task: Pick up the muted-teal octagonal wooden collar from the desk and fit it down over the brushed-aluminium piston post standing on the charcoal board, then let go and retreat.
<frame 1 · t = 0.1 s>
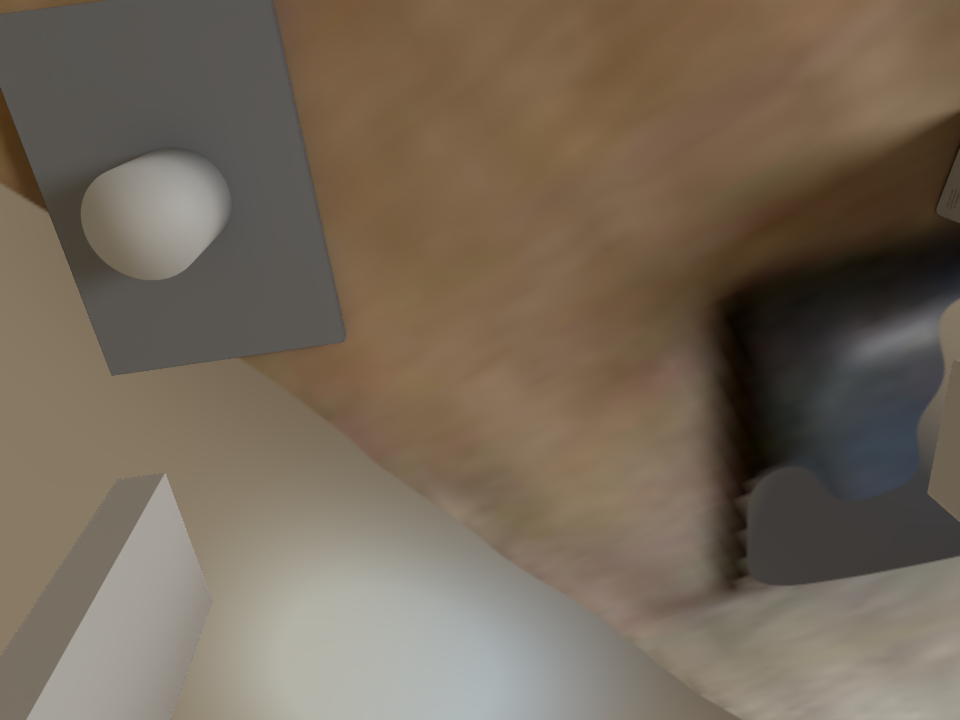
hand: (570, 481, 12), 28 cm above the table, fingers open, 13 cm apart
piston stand: (185, 194, 36), on the table
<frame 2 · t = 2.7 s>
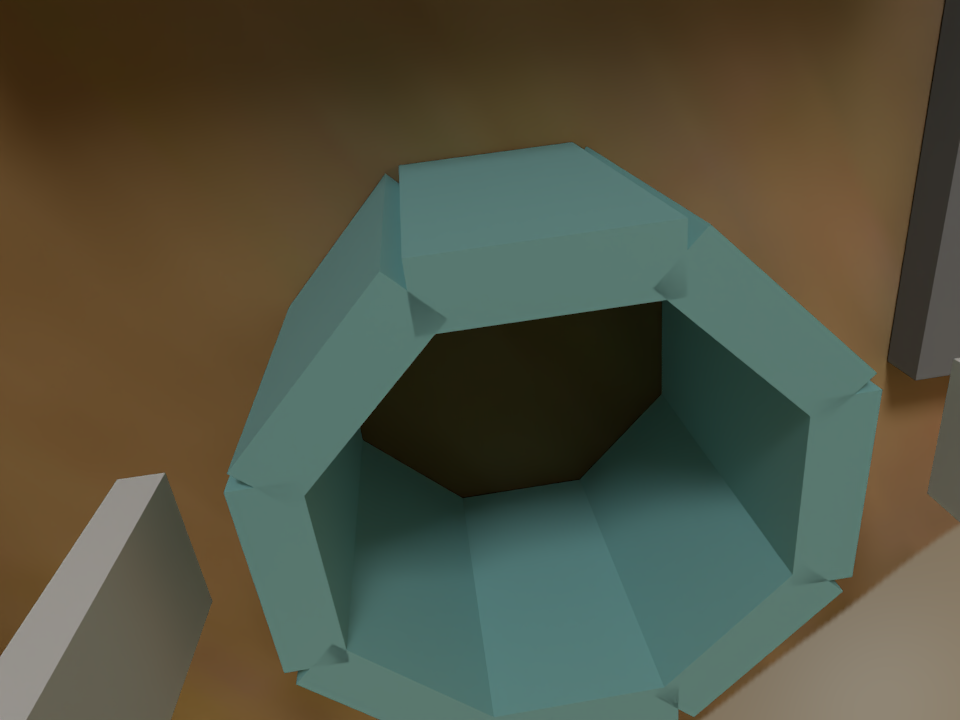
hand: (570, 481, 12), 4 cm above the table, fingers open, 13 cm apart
collar: (507, 360, 16), on the table
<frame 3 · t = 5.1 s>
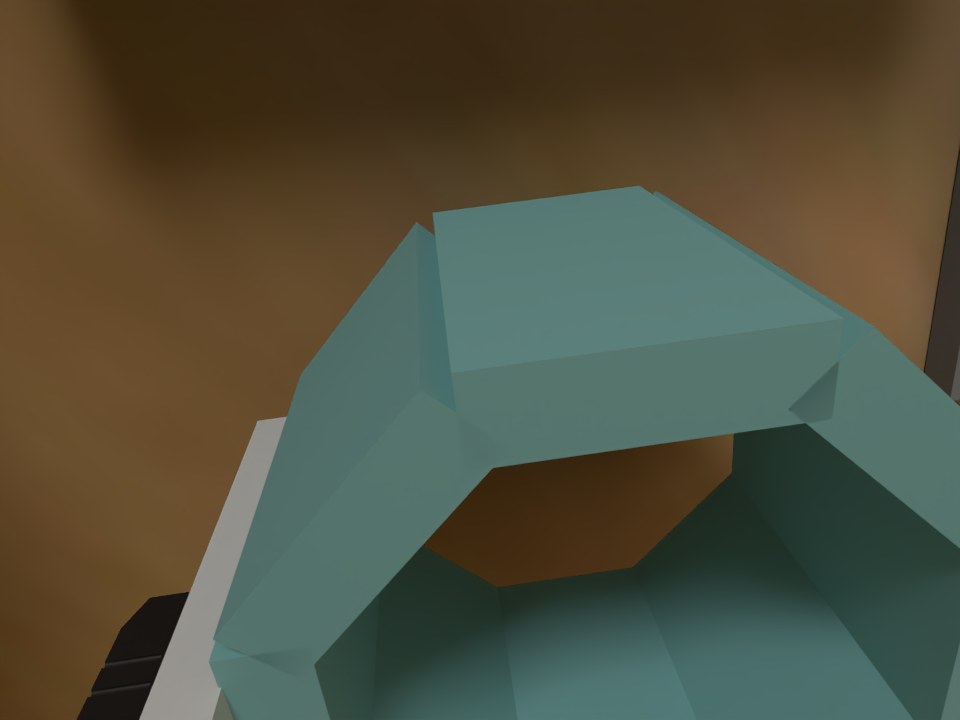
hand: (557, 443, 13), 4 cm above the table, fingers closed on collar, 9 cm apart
collar: (554, 435, 13), point 4 cm above the table, touching gripper
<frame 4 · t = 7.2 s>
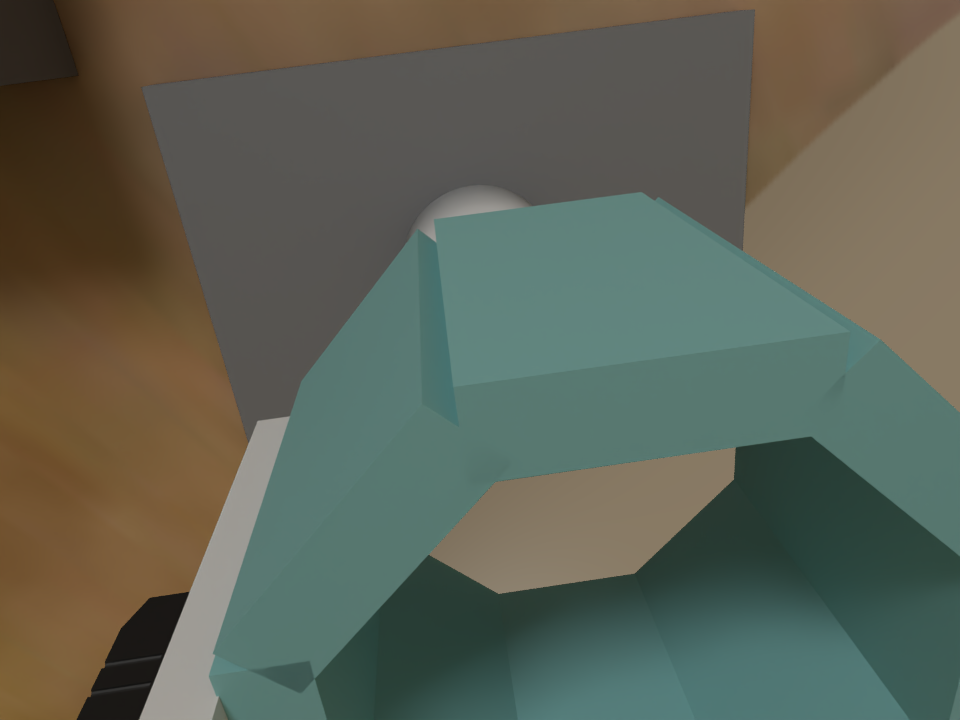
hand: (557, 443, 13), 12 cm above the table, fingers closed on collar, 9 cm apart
collar: (556, 442, 13), point 12 cm above the table, touching gripper
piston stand: (476, 252, 24), on the table
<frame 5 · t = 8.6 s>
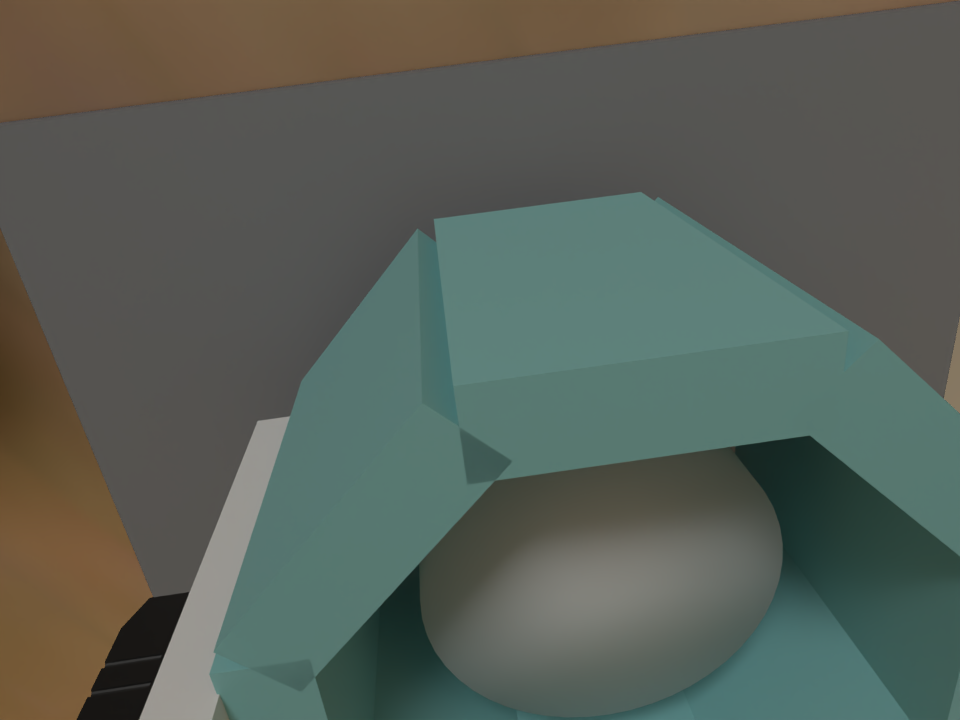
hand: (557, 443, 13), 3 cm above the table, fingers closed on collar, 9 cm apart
collar: (555, 441, 13), point 2 cm above the table, touching gripper
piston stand: (529, 378, 15), on the table
when the fingers open (2 cm above the table, at t = 9.6 s): collar stays where it is, resting on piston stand.
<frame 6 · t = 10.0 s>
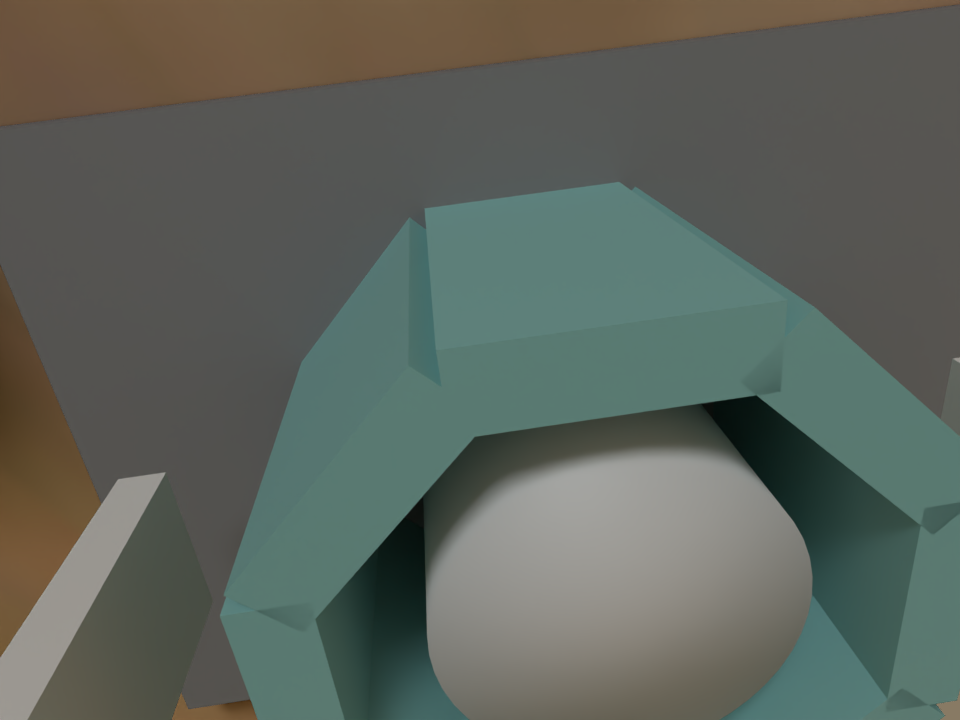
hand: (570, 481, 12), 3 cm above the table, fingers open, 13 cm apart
collar: (542, 419, 14), point 1 cm above the table, touching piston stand
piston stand: (538, 392, 15), on the table
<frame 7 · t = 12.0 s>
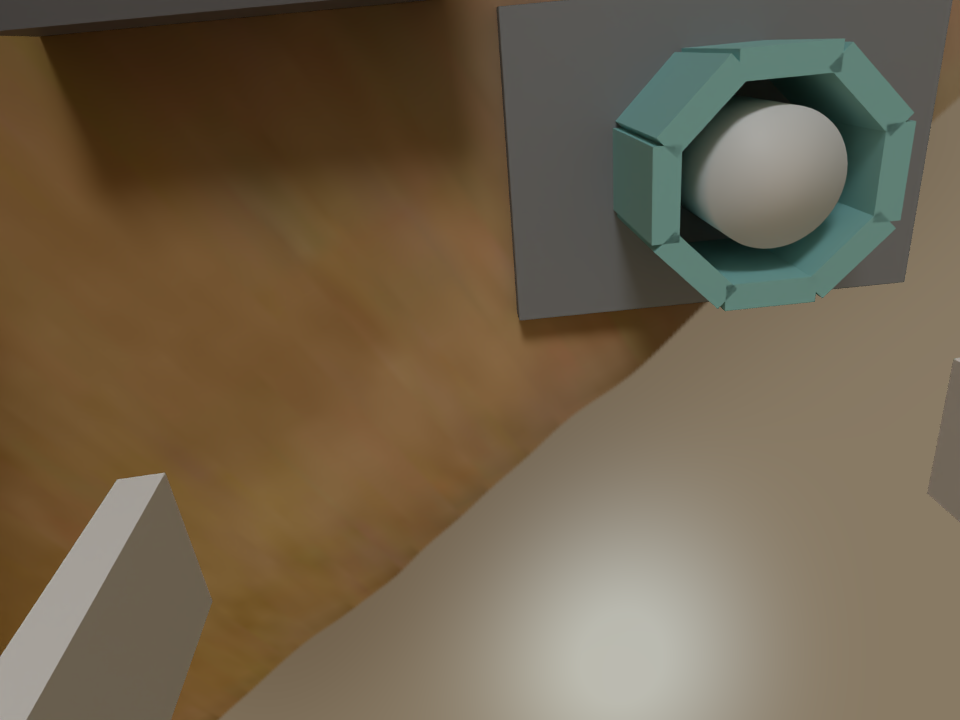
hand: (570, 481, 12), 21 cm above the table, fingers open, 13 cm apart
collar: (717, 159, 30), point 1 cm above the table, touching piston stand
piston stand: (711, 153, 31), on the table
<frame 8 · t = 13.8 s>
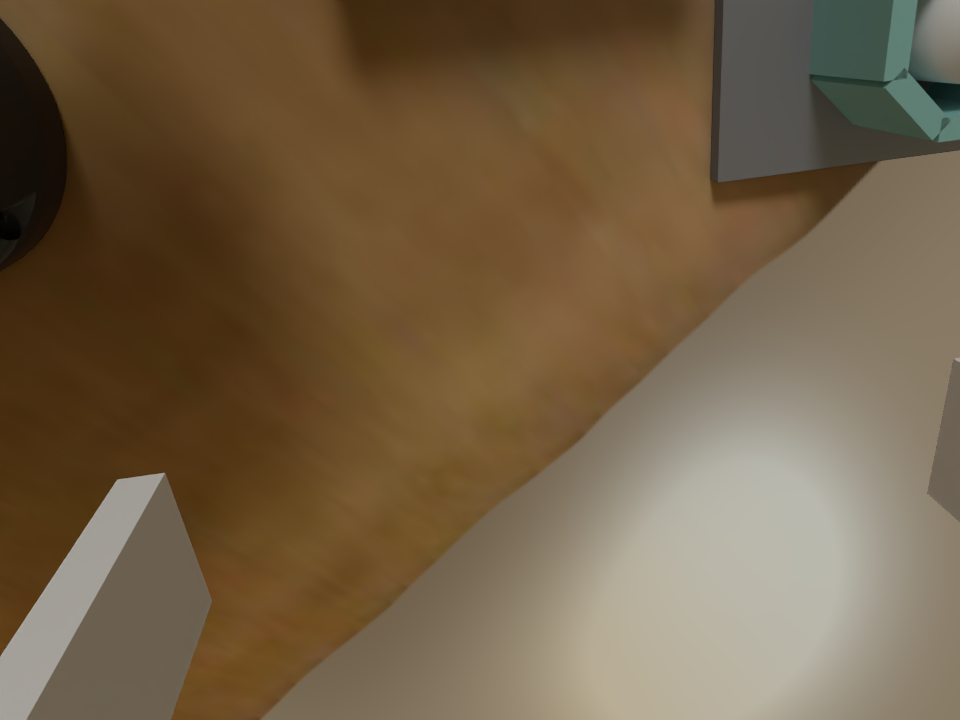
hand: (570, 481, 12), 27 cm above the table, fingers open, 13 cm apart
collar: (902, 24, 34), point 1 cm above the table, touching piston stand
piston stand: (892, 22, 35), on the table
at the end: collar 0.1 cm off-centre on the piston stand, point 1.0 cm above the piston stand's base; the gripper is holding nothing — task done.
